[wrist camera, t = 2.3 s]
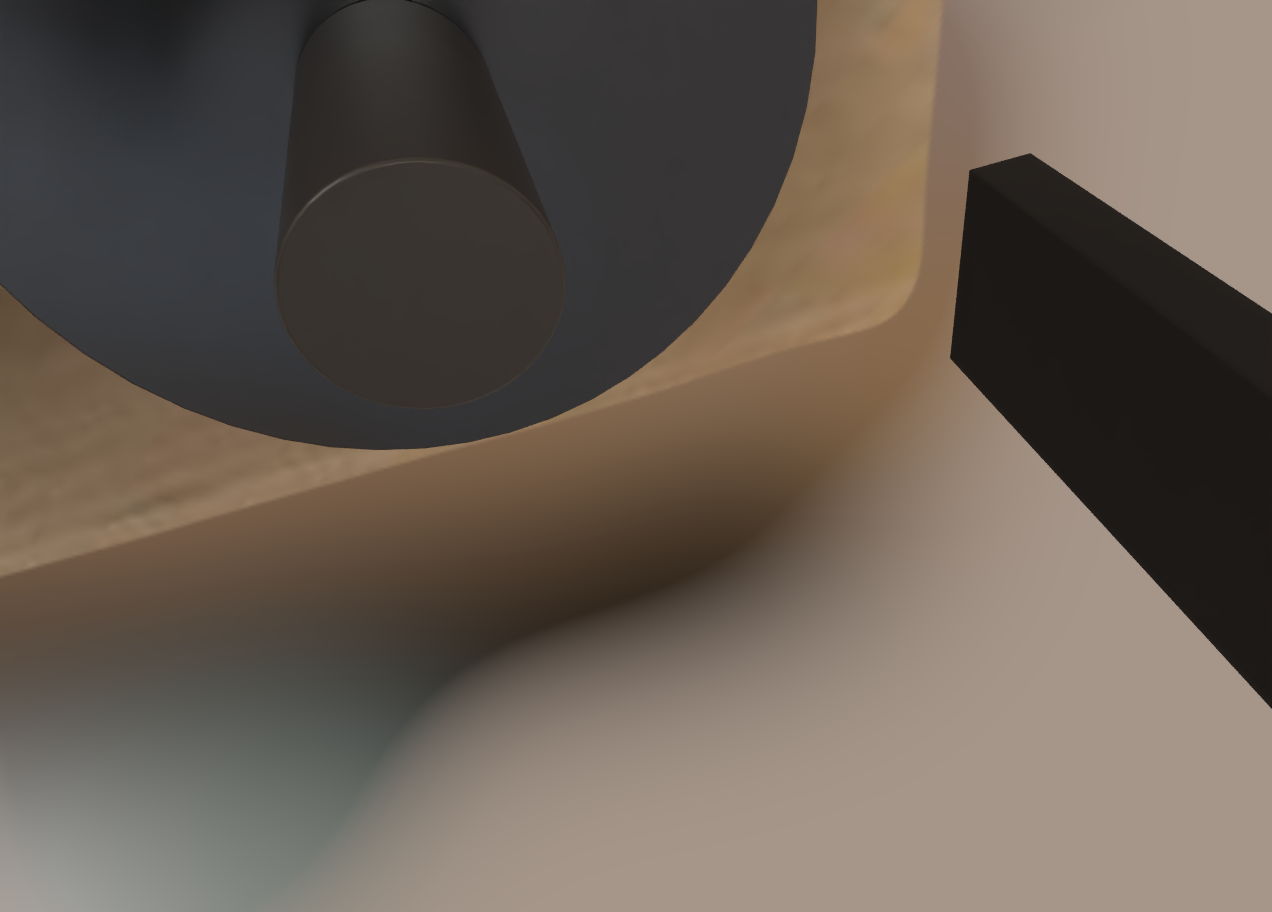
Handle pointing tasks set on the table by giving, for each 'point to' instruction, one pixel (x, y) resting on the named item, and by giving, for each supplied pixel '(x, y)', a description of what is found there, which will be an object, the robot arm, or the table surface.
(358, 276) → the pan lid
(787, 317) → the table surface
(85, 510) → the table surface
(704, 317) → the table surface
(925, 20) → the table surface
